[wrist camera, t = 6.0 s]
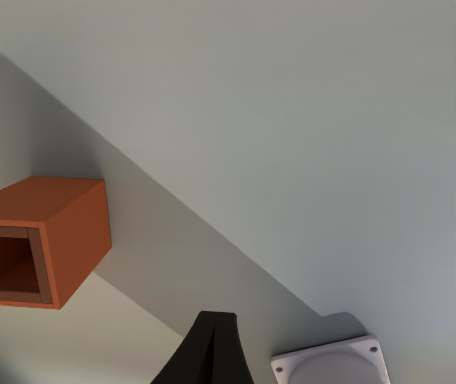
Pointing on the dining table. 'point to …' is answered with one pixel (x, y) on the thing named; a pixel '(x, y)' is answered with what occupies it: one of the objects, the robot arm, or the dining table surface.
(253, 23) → the dining table surface
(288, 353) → the robot arm
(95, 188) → the orange open-ended box
